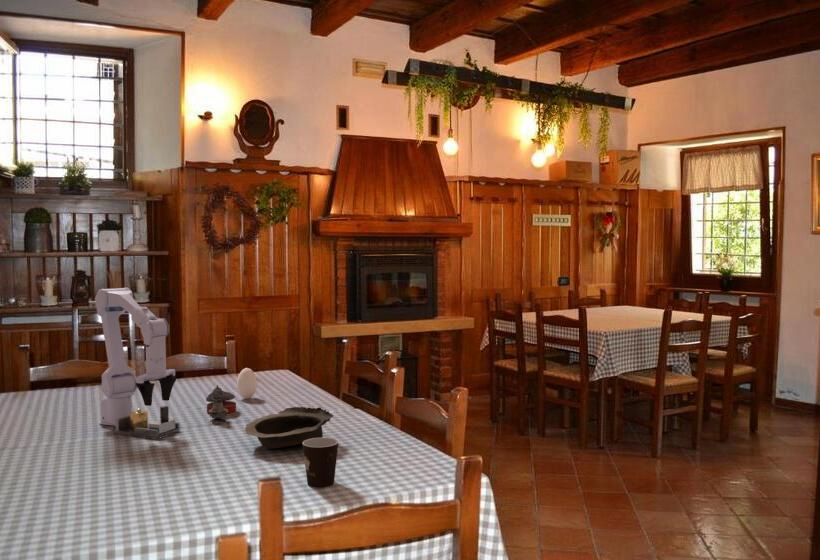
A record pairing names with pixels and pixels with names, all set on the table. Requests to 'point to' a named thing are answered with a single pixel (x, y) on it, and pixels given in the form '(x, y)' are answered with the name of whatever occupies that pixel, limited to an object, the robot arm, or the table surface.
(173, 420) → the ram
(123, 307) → the robot arm
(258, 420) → the stone bowl
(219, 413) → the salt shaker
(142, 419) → the gold bell
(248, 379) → the egg
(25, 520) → the table surface
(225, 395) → the canned food
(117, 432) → the press frame
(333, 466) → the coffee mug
